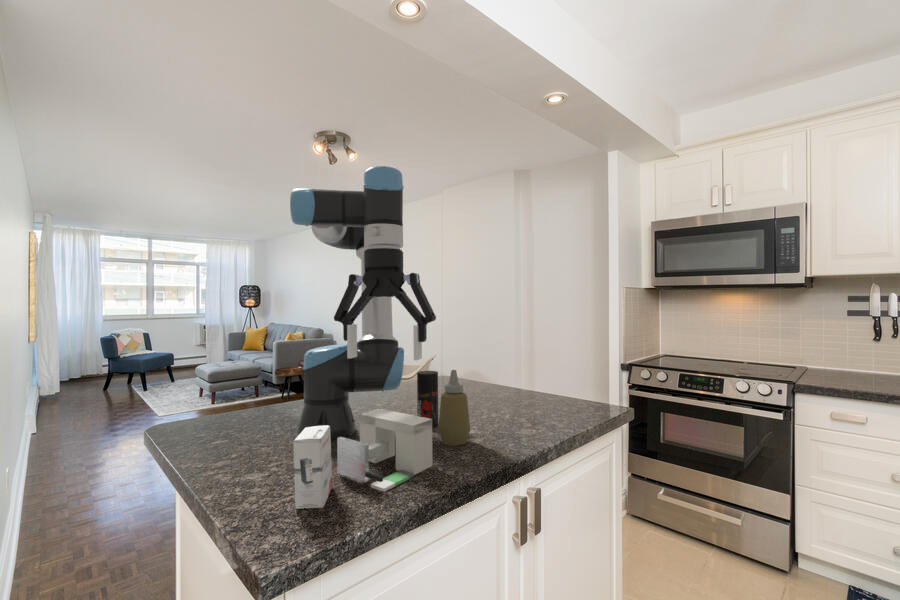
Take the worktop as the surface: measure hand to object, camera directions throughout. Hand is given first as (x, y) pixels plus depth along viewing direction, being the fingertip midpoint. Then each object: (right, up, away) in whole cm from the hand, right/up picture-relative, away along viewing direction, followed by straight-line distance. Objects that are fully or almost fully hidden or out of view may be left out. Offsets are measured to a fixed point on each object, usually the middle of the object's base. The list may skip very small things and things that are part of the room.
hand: (384, 358), depth 83 cm
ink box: (-12, -24, -6) cm, 28 cm away
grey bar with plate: (-2, -23, +3) cm, 24 cm away
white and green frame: (-2, -24, +7) cm, 25 cm away
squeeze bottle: (+14, -24, +23) cm, 36 cm away
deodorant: (+6, -24, +39) cm, 46 cm away
